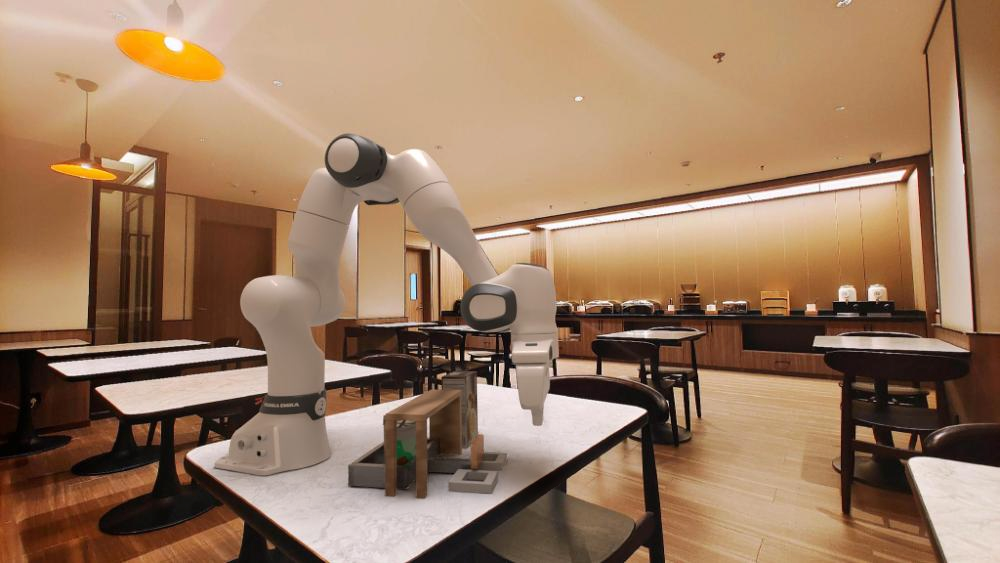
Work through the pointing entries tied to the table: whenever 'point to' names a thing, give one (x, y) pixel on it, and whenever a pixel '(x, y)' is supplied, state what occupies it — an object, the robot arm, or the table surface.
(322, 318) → the robot arm
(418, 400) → the brown wooden bench
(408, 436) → the food container
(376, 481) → the shallow grey tray
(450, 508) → the table surface
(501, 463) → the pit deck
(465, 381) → the coffee box
